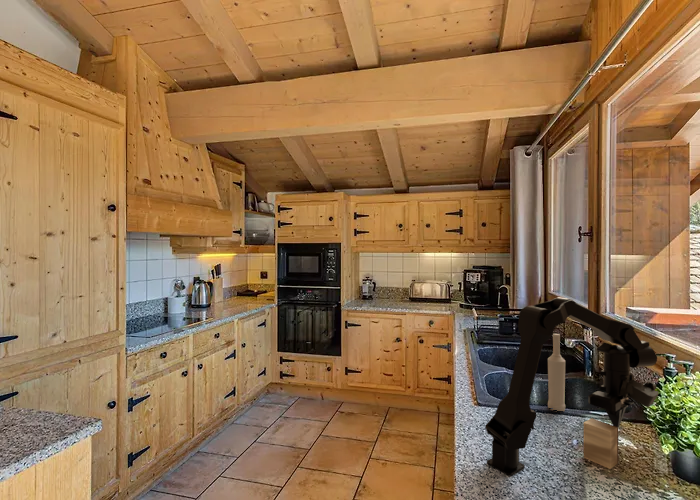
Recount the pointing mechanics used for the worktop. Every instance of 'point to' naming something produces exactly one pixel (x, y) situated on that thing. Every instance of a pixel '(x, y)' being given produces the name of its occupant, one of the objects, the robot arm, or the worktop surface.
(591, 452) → the birch block
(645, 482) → the worktop surface
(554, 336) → the bottle
